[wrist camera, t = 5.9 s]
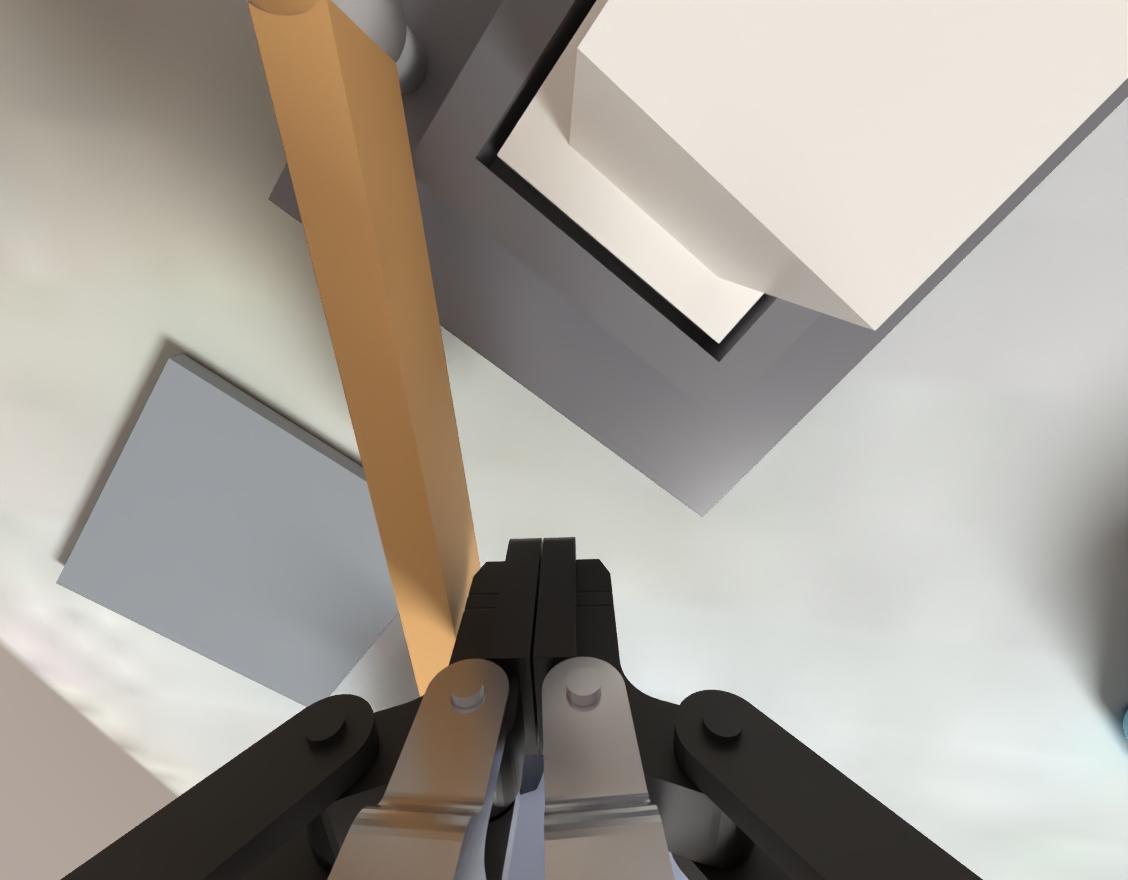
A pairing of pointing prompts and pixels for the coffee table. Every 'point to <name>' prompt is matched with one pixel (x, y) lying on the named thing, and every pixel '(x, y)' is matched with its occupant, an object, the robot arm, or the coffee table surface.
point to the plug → (807, 138)
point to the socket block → (602, 270)
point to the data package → (1125, 725)
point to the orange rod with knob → (377, 294)
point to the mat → (238, 538)
